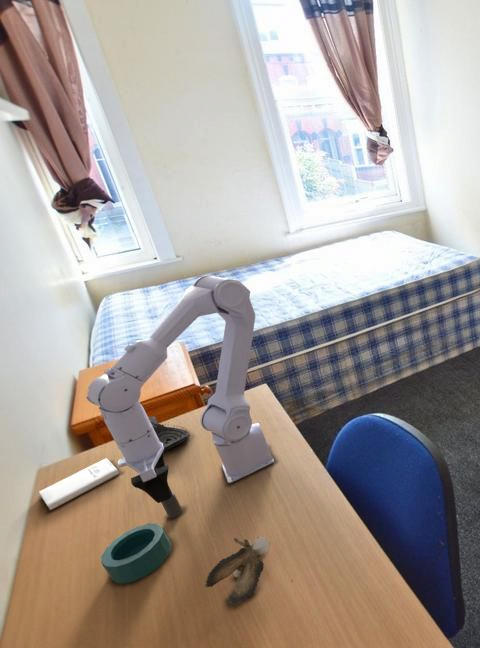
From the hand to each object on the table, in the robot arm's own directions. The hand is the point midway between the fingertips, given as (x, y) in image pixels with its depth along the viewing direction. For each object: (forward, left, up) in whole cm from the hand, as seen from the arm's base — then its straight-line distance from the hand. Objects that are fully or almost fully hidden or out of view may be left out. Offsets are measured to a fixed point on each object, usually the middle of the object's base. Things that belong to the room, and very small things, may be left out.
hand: (162, 488), depth 92 cm
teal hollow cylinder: (+6, +9, -7) cm, 13 cm away
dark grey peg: (0, 0, -7) cm, 7 cm away
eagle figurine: (-8, +27, -7) cm, 29 cm away
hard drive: (+16, -27, -7) cm, 32 cm away
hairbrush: (0, -35, -7) cm, 36 cm away
